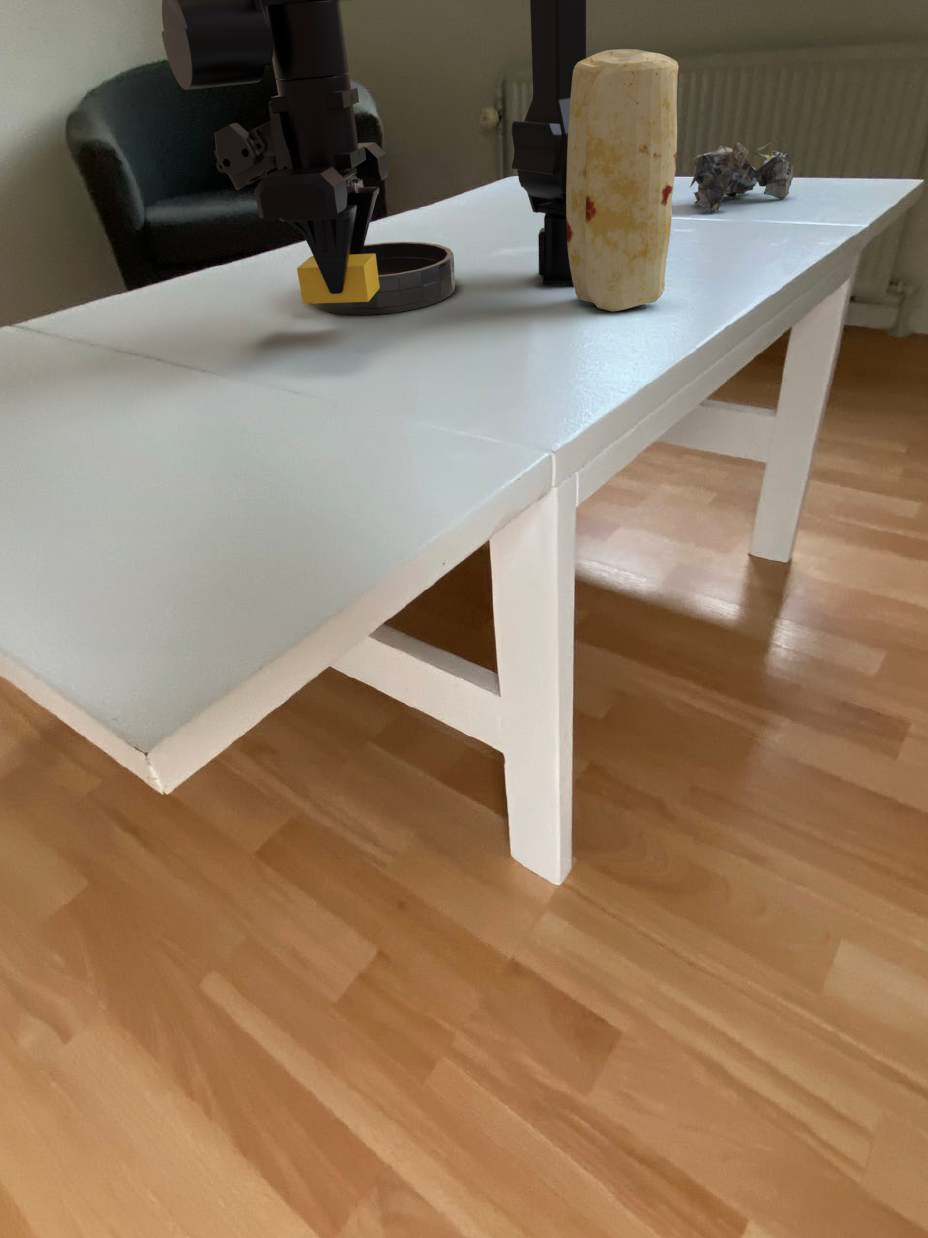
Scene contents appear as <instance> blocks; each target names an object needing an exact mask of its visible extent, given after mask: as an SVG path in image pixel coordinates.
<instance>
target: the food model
mask: <svg viewBox="0 0 928 1238" xmlns="http://www.w3.org/2000/svg"><path fill="white" fill-rule="evenodd" d="M679 72H680V66H679V64H678V61H677V60H675V59H674V58H672V57H670V56H668V55H665V54H662V53H659V52H652V51H646V50H641V49H635V48H633V49H631V48H622V49H621V48H619V49H607V50H604V51H600V52H597V53H594V54H592V55H590V56H588V57H586V59H584V60H582V61H580V62H578V63H577V64H576V65H575V67H574V70H573V76H572V87H571V99H570V113H569V128H568V148H567V183H566V219H567V244H568V257H569V263H570V270H571V275H572V280H573V284H572V285H573V288H574V292H575V295H576V298H577V299H578V300H580V301H585V302H589V303H593V304H594V305H595V306H596V308H597V309H601V310H604V311H608V312H611V313H614V312H619V311H624V310H628V309H632V308H635V307H638V306H642V305H646V304H652V303H655V302H657V301H658V300H659V299H660V298H661V296H662V295H663V293H664V291H665V287H666V268H667V259H668V253H669V246H670V239H671V230H672V218H673V217H672V215H673V213H672V212H673V197H674V187H675V177H676V170H677V169H676V167H677V152H678V151H677V148H678V147H677V146H678V115H677V114H678V112H677V109H678V106H677V105H678V103H677V102H678V101H677V100H678V82H679Z"/></svg>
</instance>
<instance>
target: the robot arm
mask: <svg viewBox="0 0 928 1238" xmlns="http://www.w3.org/2000/svg"><path fill="white" fill-rule="evenodd" d="M349 1H351V0H161V22H162V29H163V31H161V38H162V42H163V46H164V50H165V54H166V57H167V60H168V63H169V67H170V69H171V71H172V73H173V76H174V77H175V78H174V79H175V80H176V82H177V83H178V85H179V86H180V87H181V88H182V89H183V90H185V91H191V90H199V89H200V90H201V89H209V88H218V87H219V88H220V87H228V86H237V85H246V84H256V83H257V84H258V83H260V81H262V79H263V77H264V74H265V69H266V67H271V66H272V65H273V71H274V76H275V83H276V88H277V89H276V90H277V94H278V95H275V96H271V97H270V101H269V102H268V112H269V117H270V120H268V121H267V122H265V123H263V124H261V125H259V126H257V127H255V128H252V129H250V130H249V131H247V130H246V129H245V128H244V127H243V126H242V125H240V124H239V123H237V122H233V123H230V124H228V125H226V126H224V127H222V128H220V129H219V130H217V131H215V132H214V144H215V150H213V153H214V156H215V158H216V163H215V167H216V170H217V171H218V172H219V173H221V174H226V175H228V176H229V178H230V180H231V183H232V184H233V186H234V188H235V190H236V191H238V190H241V189H242V188H244V187H246V186H247V185H251V184H253V183H255V182H256V181H259V180H260V181H259V183H258V184H257V186H256V187H255V189H254V196H255V201H256V206H257V211H258V216H259V218H260V219H264V220H267V219H268V220H269V219H279V220H280V221H281V222H287V223H288V224H290V225H291V226H292V227H294V228H295V229H296V230H298V231H299V232H300V233H301V234H302V236H303V237H304V240H305V242H306V244H307V245H308V247H309V249H310V252H311V254H312V256H314V258H315V261H316V263H317V265H318V267H319V270H320V272H321V274H322V276H323V279H324V281H325V283H326V285H327V288H328V290H329V292H330V293H331V294H341V293H342V292H343V288H344V283H345V277H346V272H347V265H348V259H349V254H362V251H363V247H364V245H365V244H366V239H367V236H368V232H369V227H370V224H371V220H372V216H373V211H374V209H375V204H376V200H377V196H378V195H379V193H380V187H379V186H364V181H363V179H364V178H374V180H375V182H378V181H379V182H380V181H384V180H385V179H386V178H388V177H389V170H388V160H387V153H386V152H385V151H384V150H383V149H382V148H381V147H380V145H378V144H377V143H376V142H359V141H358V134H357V133H358V132H357V125H356V118H355V110H354V109H355V108H354V105H356V104H359V103H360V98H359V97H360V96H359V89H358V87H352V86H351V78H350V74H349V73H350V71H349V64H348V63H349V62H348V54H347V48H346V40H345V30H344V23H343V15H342V7H341V3H343V2H349ZM529 7H530V8H529V9H530V39H531V40H530V41H531V69H532V99H531V102H530V104H529V108H528V109H527V113H526V115H525V117H524V120H513V121H512V124H511V136H512V143H513V159H512V164H511V169H512V170H516V172H517V177H518V181H519V185H520V187H521V188H523V189H524V191H525V192H526V194H527V197H528V200H529V204H530V207H531V210H532V213H535V214H539V213H541V214H544V216H543V227H540V229H539V232H538V235H537V236H538V238H537V239H538V240H537V241H538V242H537V243H538V275H539V276H540V277H542V279H541V283H542V286H543V285H544V286H557V285H560V286H561V285H562V286H563V285H573V280H572V275H571V270H570V263H569V257H568V244H567V219H566V183H567V148H568V128H569V113H570V99H571V87H572V76H573V70H574V67H575V65H576V64H577V63H578V62H580V61H582V60H584V59H586V58H587V0H529ZM273 169H276V170H274V171H272V170H273ZM269 171H272V172H270V173H268V172H269Z"/></svg>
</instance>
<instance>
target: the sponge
mask: <svg viewBox="0 0 928 1238" xmlns="http://www.w3.org/2000/svg"><path fill="white" fill-rule="evenodd" d="M296 271H297V277H298V283H299V288H300V293H301V300H302V304H303V305H307V304H308V305H309V304H313V303H344V302H369V300H370V299H371V298H372V297H373V296H374V294H375V293H376V292H377V291H378V290H379V288H380V286H379V278H378V270H377V262H376V254H375V253H374V254H349V259H348V265H347V272H346V277H345V283H344V288H343V292H342V293H341V294H331V293H330V292H329V290H328V288H327V285H326V283H325V281H324V279H323V276H322V274H321V272H320V270H319V267H318V265H317V263H316V261H315V258H314V256H313V255H310V257H309V258H307V259H306V260H305V261H303V262H302V263H301V264H300V265H299V266H297V267H296Z"/></svg>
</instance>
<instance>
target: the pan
mask: <svg viewBox="0 0 928 1238" xmlns="http://www.w3.org/2000/svg"><path fill="white" fill-rule="evenodd" d="M374 253H375V254H376V262H377V270H378V278H379V286H380V288H379V290H378V291H377V292H376V293H375V294H374V296H373V297H372V298H371V299H370V300H369V302H344V303H312V304H313V306H314V307H316V308H317V309H319V310H321V311H324V312H327V313H332V314H339V315H348V316H349V315H350V316H371V315H373V316H374V315H375V316H376V315H385V314H393V313H394V314H396V313H402V312H408V311H412V310H413V311H414V310H417V309H421V308H425V307H428V306H432V305H435V304H437V303H439V302H442V301H444V300H446V299H447V298H449V297H450V296H452V295H453V294H454V292H455V290H456V273H455V271H456V270H455V257H454V256H455V255H454V252H453V250H452V249H451V248H449V247H447V246H444V245H441V244H437V243H432V242H431V243H430V242H423V241H422V242H418V241H392V242H391V241H389V242H375V243H367V244H364V247H363V251H362V254H374Z"/></svg>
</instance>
